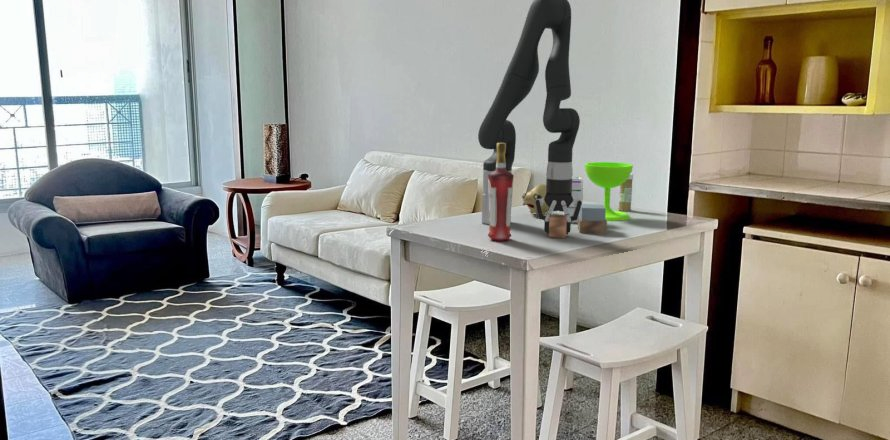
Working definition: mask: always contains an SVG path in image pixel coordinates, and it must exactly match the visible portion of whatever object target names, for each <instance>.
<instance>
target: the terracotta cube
mask: <svg viewBox="0 0 890 440" xmlns="http://www.w3.org/2000/svg"><path fill="white" fill-rule="evenodd" d="M566 226H567V217H566V216H565V215H564V214H559V213H558V214H555V213H554V214H553V213H552V214H551V216H549V234H548V238H561V239H562V238H563V239H566V238H567V234H566Z"/></svg>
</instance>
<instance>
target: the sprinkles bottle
mask: <svg viewBox="0 0 890 440" xmlns="http://www.w3.org/2000/svg"><path fill="white" fill-rule="evenodd" d="M633 179H634V173H631V174H630V176H629V178H628V179H627V180H626V181H625V182H624V183H623V184H621V185H620V186H619V192H618V193H619V194H618V195H619V196H618V208H617V211H620V212H630V211H632V196H633Z"/></svg>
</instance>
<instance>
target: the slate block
mask: <svg viewBox="0 0 890 440" xmlns="http://www.w3.org/2000/svg"><path fill="white" fill-rule="evenodd" d="M605 213H606V208H605V207H604V204H586V203H585V204H584V203H582V205H581V208H580V219H581V220H582V221H605Z"/></svg>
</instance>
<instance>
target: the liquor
mask: <svg viewBox="0 0 890 440" xmlns="http://www.w3.org/2000/svg"><path fill="white" fill-rule="evenodd" d="M505 151H506V143H497V161H496V170H495V171H493V172H491V173H490V174H489V175H488V195H489V224H488V226H489V228H488V229H489V232H488V234H487V236H488V237H489V238H490V239H491V241H493V240H494V241H493V242H506V241H508V240H509V239H510V238H511V237H512V234H511V222H510V220H512V219H511V218H512V216H511V215H512V203H513V189H514V176H515V175H514V174H513V172H512V173H510V172H508V171H506V162H505Z"/></svg>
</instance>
